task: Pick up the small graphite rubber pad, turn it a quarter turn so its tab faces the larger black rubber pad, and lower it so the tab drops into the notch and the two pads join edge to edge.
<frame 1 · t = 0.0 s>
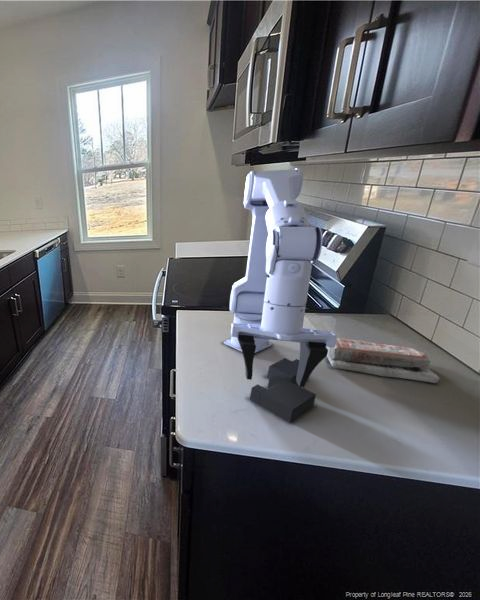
hand: (273, 380, 54), 11 cm above the countertop, tool pointing down, fingers open, 7 cm apart
packaged product: (373, 365, 74), on the countertop
graphite pad: (286, 378, 71), on the countertop
black pad: (280, 403, 64), on the countertop
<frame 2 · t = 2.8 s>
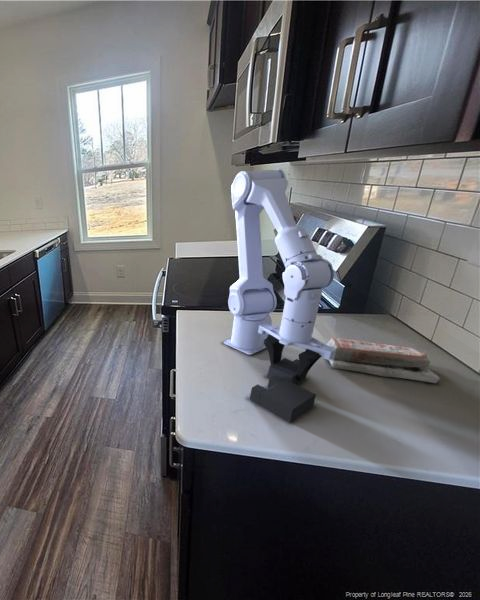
hand: (287, 372, 70), 1 cm above the countertop, tool pointing down, fingers closed on graphite pad, 5 cm apart
graphite pad: (286, 378, 71), on the countertop, touching gripper
everything else where it was.
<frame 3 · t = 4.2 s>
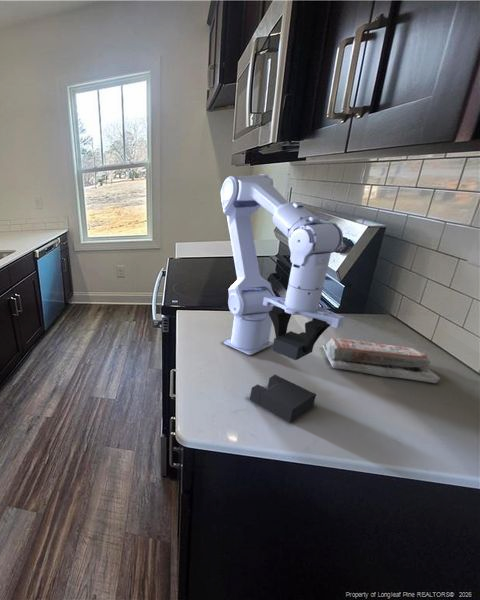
hand: (292, 345, 68), 8 cm above the countertop, tool pointing down, fingers closed on graphite pad, 5 cm apart
graphite pad: (291, 351, 68), point 7 cm above the countertop, touching gripper
everything else where it was.
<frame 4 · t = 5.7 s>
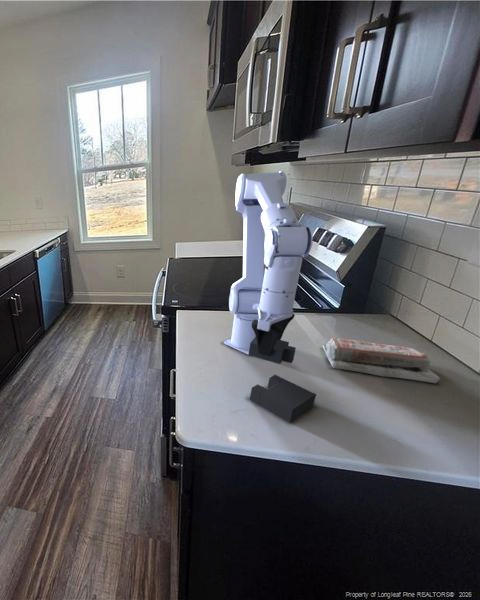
hand: (268, 348, 67), 8 cm above the countertop, tool pointing down, fingers closed on graphite pad, 5 cm apart
graphite pad: (267, 354, 68), point 7 cm above the countertop, touching gripper
everything else where it was.
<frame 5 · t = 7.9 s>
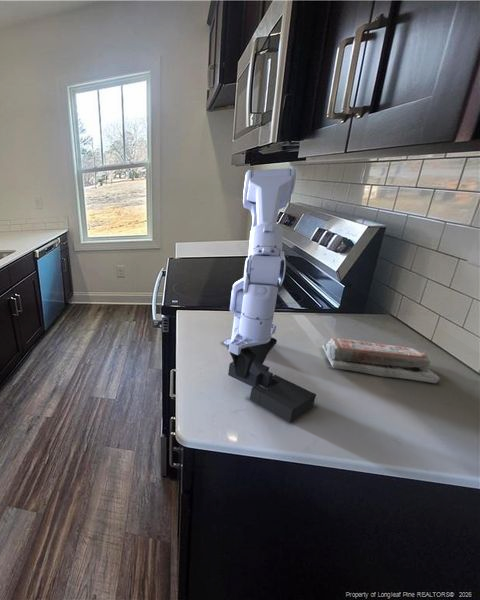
hand: (248, 371, 69), 3 cm above the countertop, tool pointing down, fingers closed on graphite pad, 5 cm apart
graphite pad: (247, 377, 69), point 2 cm above the countertop, touching gripper
everything else where it was.
when the fingers open (1 cm above the countertop, at t = 9.1 s): graphite pad stays where it is, on the countertop.
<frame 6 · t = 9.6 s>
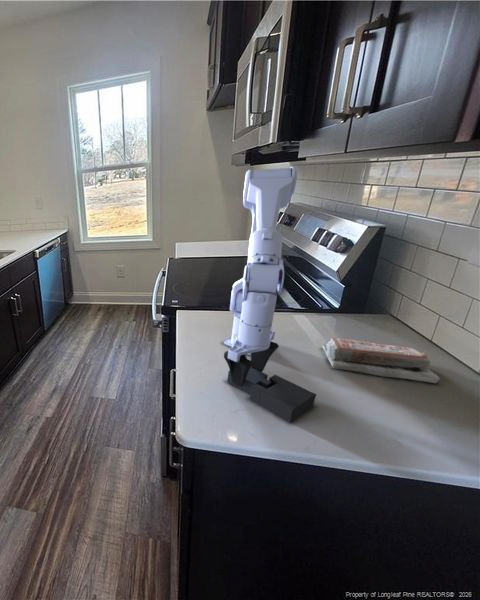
hand: (247, 377, 69), 2 cm above the countertop, tool pointing down, fingers open, 7 cm apart
graphite pad: (246, 384, 70), on the countertop
everything else where it was.
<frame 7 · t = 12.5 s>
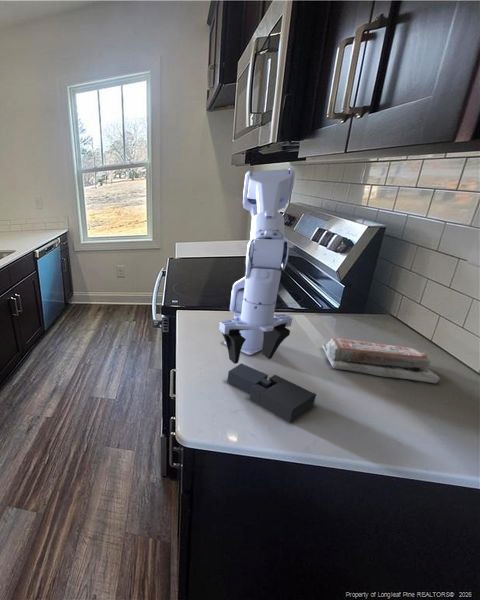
hand: (250, 358, 67), 6 cm above the countertop, tool pointing down, fingers open, 7 cm apart
nothing on the countertop moved.
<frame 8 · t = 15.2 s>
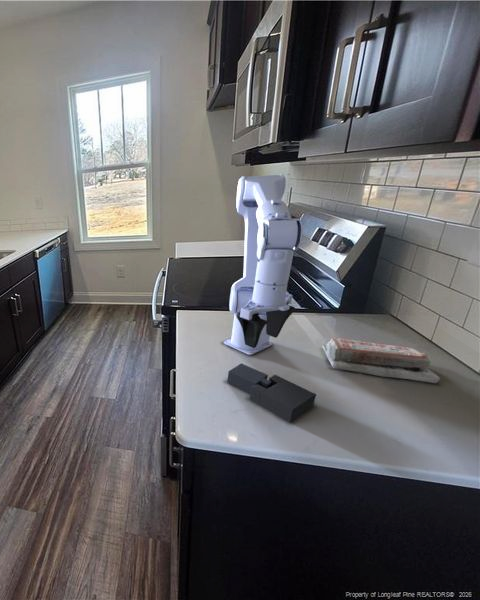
hand: (261, 340, 69), 9 cm above the countertop, tool pointing down, fingers open, 7 cm apart
nothing on the countertop moved.
at the end: graphite pad 0.2 cm from the target spot on the countertop beside the black pad, on the countertop; graphite pad tilted 0°; black pad moved 0.0 cm from its start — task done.
